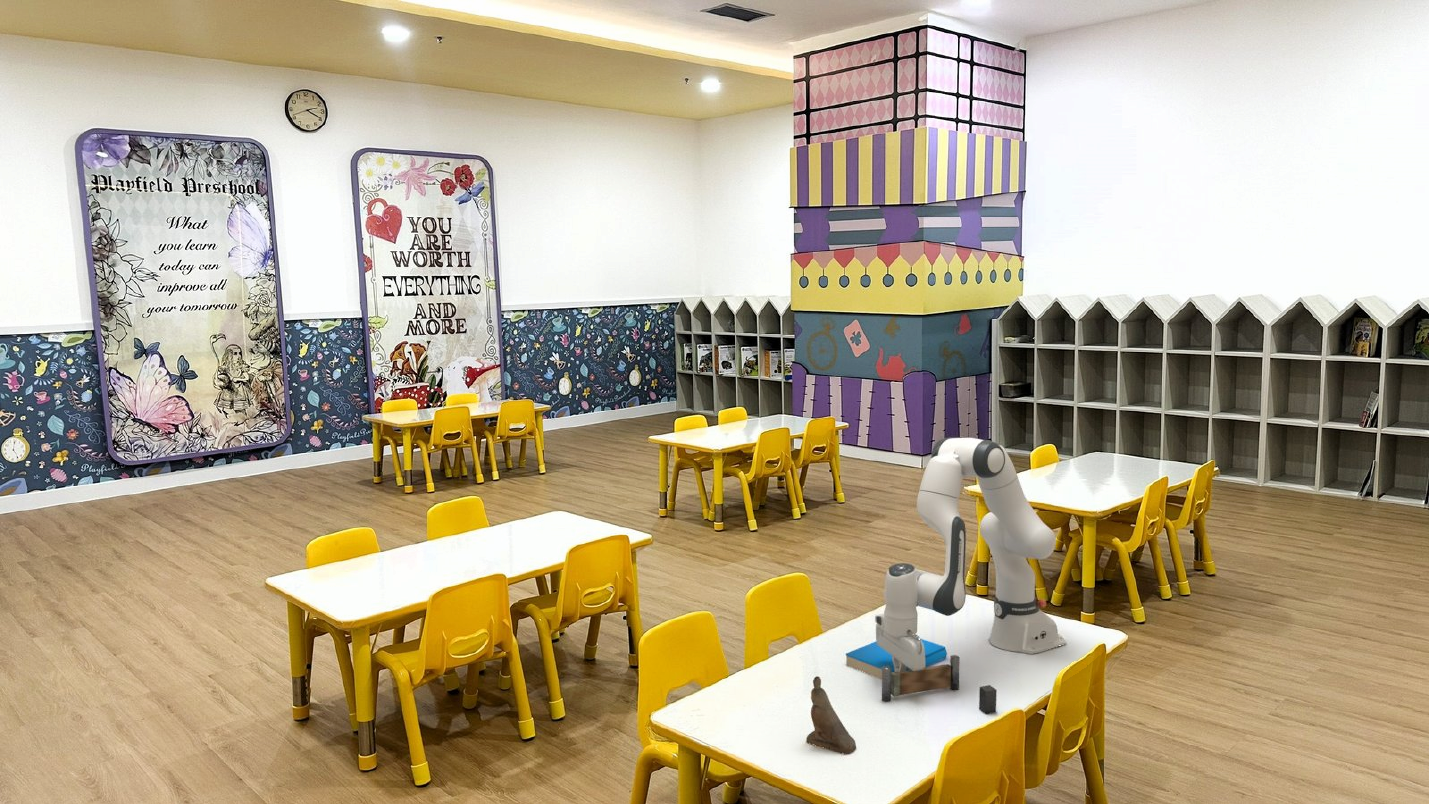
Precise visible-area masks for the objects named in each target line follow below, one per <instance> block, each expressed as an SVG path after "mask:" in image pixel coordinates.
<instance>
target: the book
mask: <svg viewBox="0 0 1429 804" xmlns="http://www.w3.org/2000/svg"><path fill="white" fill-rule="evenodd" d="M920 640H921V641H922V642H923V644H924V649H925V668H927V667H931V666H932V665H934V664H936V663H938V662H941V661H943V660H945V659H947V656H948V652H947V649H946V646H944V645H940V644H938V643H935V642H932V641H929V640H926V639H924V638H921V637H920ZM845 656H846V657H845V658H846V660H845V661H846V665H847V666H846V665H845V666H846V667H850V668H851V667H852V669H854V670H857V669H858V670H857V671H859V670H861V671H860V672H862V671H863V672H862V673H864V672H865V674H867V675H869V676H872V677H875V678H877V677H878V679H879V678H880V679H879V680H882V666H890V667H891V672H895V671H894V664H893V660H892V655H890V654H889V653H888V652H886V651H885V650H883V649H882V648H881V647H879V646H878V644H877V641H873V642H872V643H869V644H866V645H864V646H861V647H858V648H856V649H854V650H851V651H849V652H847V653H845ZM907 670H911V669H910V668H908V667H907V668H906V671H907Z"/></svg>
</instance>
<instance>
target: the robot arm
mask: <svg viewBox="0 0 1429 804" xmlns="http://www.w3.org/2000/svg"><path fill="white" fill-rule="evenodd" d="M964 478H976V479H977V480H976V481H977V482H978V485H979V489H980V491H981V494H982V497H983V499H984V503H985V505H986V508H987V509H988V510H989V511H990V512H988V513H987V514H985V515H984V516H983V518H982V520H981V522H980V525H979V526H980V527H979V532H980V535H981V537H982V539H983V540H984V542H985V543H986V545H987V546H988V548H989V550H990V554H991V556H992V560H993V564H994V569H995V595H994V599H993V613H994V617H993V623H992V629H991V633H990V636H989V638H988V641H989V643H990V644H991V645H993V646H994V647H997V648H998V649H1001V650H1006V651H1010V652H1018V653H1019V652H1020V653H1023V654H1027V655H1034V653H1035V654H1038V653H1042V652H1044V651H1048V649H1049V650H1052V649H1051V648H1053V649H1055V648H1054V647H1056V648H1058V647H1057V646H1059V645H1063V646H1065V645H1064V644H1066V645H1067V641H1066V639H1065V637H1063V636H1062V635H1061V634H1059V632H1058V631H1059V630H1058V626H1057V623H1056V622H1055V620H1054V619H1052V617H1050V616H1049V615H1047V614H1046V613H1045V612H1043V611H1042V610H1041V609H1040V607H1041V608H1045V607H1046V606H1047V601H1046V600H1043V599H1042V598H1040V599H1038V598H1037V597H1035V595H1036V594H1035V593H1036V591H1035V588H1036V574H1035V571H1034V569H1033V568H1032V567H1031V565H1030V563H1028V560H1027V559H1032V560H1045V559H1047V558H1049V557H1050V556H1051V555H1052V553H1053V552H1054V550H1055V548H1056V544H1057V539H1056V535H1055V533H1054V531H1053V530H1052V529H1051V528H1050V527H1049V526H1048V525H1046V523H1044V522H1043V520H1042V519H1041V518H1040V517H1039V514H1037V513H1036V511H1035V509H1034V508H1033V507H1032V506H1031V504H1030V502H1029V501H1028V500H1027V498H1026V495H1025V493H1024V491H1023V488H1022V485H1021V482H1020V480H1019V477H1018V474H1017V471H1016V469H1015V466H1014V464H1013V462H1012V459H1011V458H1010V456H1009V454H1008V452H1007V451H1006V449H1005V447H1004V446H1002V445H1000V444H999V443H997V442H995V441H992V440H989V439H981V438H976V437H975V438H974V437H952V436H950V437H944V438H940V439H938V440H937V442H936V443H935V444H934V446H933V448H932V451H931V456H930V459H929V461H928V463H927V465H926V468H925V470H924V472H923V475H922V478H921V482H920V486H919V491H918V495H917V497H916V499H917V500H916V511H917V513H918V516H919V517H920V519H921V520H922V521H923V522H924V523H925V524H926V525H927V526H928V527H929V528H931V529H932V530H933V531H935V532H937V533H938V534H939V535H940V536H941V538H943V539H942V540H943V541H944V543H945V558H944V559H945V562H944V573H943V574H942V575H940V574H938V573H934V572H933V573H932V572H929V571H926V570H922V569H918V568H916V567H915V565H913V564H910V563H908V562H907V563H905V562H900V563H894V564H893V565H891V566H889V567H888V568H887V570H886V571H887V572H886V573H885V574H886V575H885V580H884V593H883V595H884V596H883V597H884V602H885V607H884V608H885V609H884V611H883V613H880V614H876V615H875V616H874V619H875V620H874V621H875V623H876V624H875V640H876V641H877V644H878V646H879V647H881V648H882V649H883V650H885V651H886V652H888V653H889V654H890V655H892V660H893V664H894V671H895V672H901V671H906V668H907V667H908V668H910V669H911V670H912V671H919V670H923V669H924V668H926V667H925V649H924V644H923V642H922V641H921V640H920V638H921V637H920V636H919V635H918V634H917V633H918V609H917V607H920V608H922V609H923V608H924V609H928V610H931V611H934V612H935V613H939V614H940V615H944V616H946V617H949V616H952V615H955V614H956V613H958V612H959V611H961V609H963V607H964V605H965V603H966V597H967V596H966V594H967V593H966V583H965V572H966V571H965V570H966V545H967V543H966V542H967V540H966V539H967V530H966V529H967V528H966V523H965V521H964V519H962V517H961V515H960V510H959V505H960V504H959V501H960V498H961V497H960V496H961V493H962V492H961V491H962V490H961V489H962V481H963V480H964ZM876 641H875V642H876ZM1037 652H1038V653H1037Z"/></svg>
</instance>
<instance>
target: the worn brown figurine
mask: <svg viewBox="0 0 1429 804" xmlns="http://www.w3.org/2000/svg"><path fill="white" fill-rule="evenodd" d="M812 685H813V688H812V689H811V691H810V694H811V695H810V700H811V702H812V705H811V709H810V716H811V717H810V718H811V722H812V725H813V728H814V730H813V731H811V732H810V733H809V734H808V735H806V738H805V740H806V742H807V744H809V743H810V744H809V745H812V744H814V745H813V746H815V745H816V747H820V748H822V747H824V748H823V749H825V748H826V750H829V751H832V752H836V753H839V754H842V753H844V754H843V755H850V754H852V753H854V752H855V751H856V750H857V743H856V740H855V739H854V738H853V736H851V734H850V733H849V732H848V731H847V729H846V727H845V726H844V724H843V722H842V721H841V719H840V718H839V716H838V714H837V713H836V711H835V709H834V708H833V705H832V704H831V702H830V699H829V697H828V695H827V692H826V690H825V689H824V688H822V687H821V686H822V680H821V677H820V676H815V677H814V678H813V680H812ZM806 742H805V743H806Z"/></svg>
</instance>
